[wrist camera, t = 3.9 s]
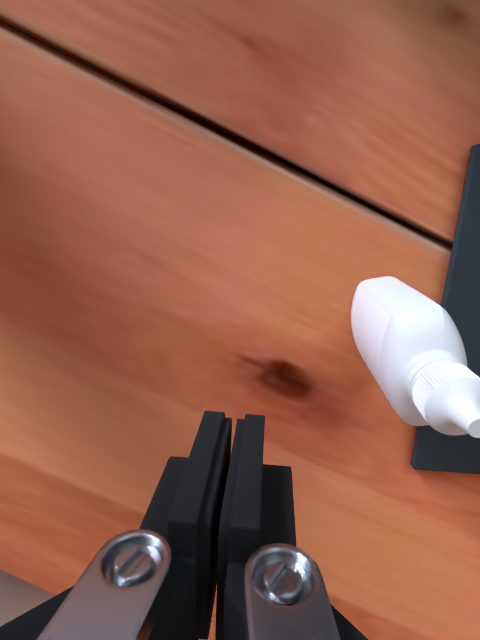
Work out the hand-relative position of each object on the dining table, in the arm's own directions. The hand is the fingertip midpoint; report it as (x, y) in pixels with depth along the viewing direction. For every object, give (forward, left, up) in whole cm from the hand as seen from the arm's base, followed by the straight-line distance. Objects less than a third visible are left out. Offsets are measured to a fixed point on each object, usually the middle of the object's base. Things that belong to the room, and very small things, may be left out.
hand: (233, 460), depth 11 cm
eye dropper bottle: (0, +8, -15) cm, 16 cm away
